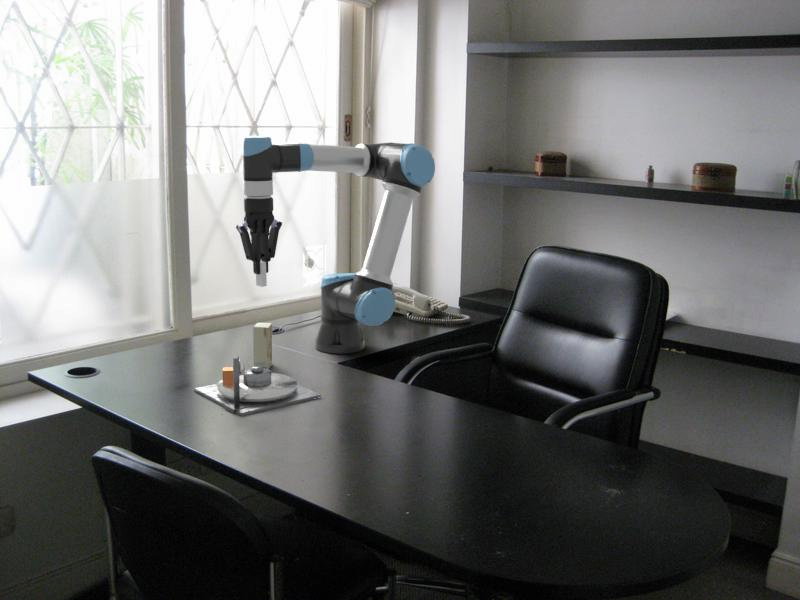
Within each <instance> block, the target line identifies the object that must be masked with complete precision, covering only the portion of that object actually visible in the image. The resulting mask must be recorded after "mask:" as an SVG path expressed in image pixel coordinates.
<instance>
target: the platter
mask: <svg viewBox="0 0 800 600" xmlns="http://www.w3.org/2000/svg"><path fill="white" fill-rule="evenodd" d="M239 381H240V401H243V402H266V401H274V400H279V399H283V398H286V397H289V396H291V395H293V394H294V393H295V392H296V391H297V384H298V381H296V379H294V378H293V377H291V376H289V375H286V374H282V373H275V372H271V384H270V385H269V386H266V387H259V388H254V387H247V386H245V385H244V384H243V375H240V376H239ZM216 384H217V392H218V394H219V395H221V396H222V397H224V398H227V399H230V400H234V378H233V366H224V367H223V368H222V379H220V380H219V381H218V382H217V383H216Z"/></svg>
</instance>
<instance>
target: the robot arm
mask: <svg viewBox="0 0 800 600" xmlns="http://www.w3.org/2000/svg"><path fill="white" fill-rule="evenodd" d="M241 142H242V143H241V158H242V159H241V161H242V177H243V179H242V180H243V181H242V183H243V195H244V199H243V208H244V209H243V211H244V212H245V213H244V218H243V222H242V223H240V224H236V226H235V229H236V230H237V231H238V233H239V235H240V239H241V243H242V247H243V251H244V252H243V253H244V255H245V258H246V259H245V260H248V261H252V267H253V274H255V280H256V281H255V282H256V286H259V287H261V288H263V287H264V288H265V287H267V286H268V285H267V283H268V282H267V274H268V273H269V262H271V261H272V260H271V259H274V258H275V256H276V252H277V244H278V240H279V239H278V238H279V233H280V230H281V227H282V226H283V222H281V221H278V220H277V219H275V216H274V213H273V211H274V198H273V197H272V196H273V195H274V186H273V185H274V184H273V182H274V181H273V174H274V173H277V174H278V173H294V172H295V173H300V172H305V171H306V172H307V171H313V172H331V173H332V172H333V173H351V174H354V175H355V176H357V177H365V178H370V179H371V178H372V179H375V180H379V181H381V185H382V187H383V189H384V194H383V197H382V200H381V203H380V207H379V210H378V212H377V217H376V220H375V224H374V227H373V230H372V234H371V237H370V241H369V244H368V247H367V251H366V253H365V258H364V261H363V263H362V268H361V269H360V270H359V271H357V272H346V273H345V272H343V273H332V274H326V275H325V274H324V276H323V277H322V278H321V285H320V289H321V291H320V293H321V294H320V295H321V298H320V299H321V301H320V302H321V303H320V305H321V307H320V308H321V311H320V313H321V314H320V315H321V316H320V318H321V320H320V326H319V328H318V331H317V335H316V337H315V341H314V346H315V349H316V350H317V351H320V352H323V353H327V354H338V355H340V354H343V355H344V354H353V353H358V352H361V351H362V350H364V349H365V338H364V336H363V332H362V329H361V325H366V326H370V327H371V326H372V327H375V326H376V327H377V326H380V325H382V324H384V323H385V322H387V321H388V320H389V319H390V318H391V317H392V316H393V313H394V311H395V307H396V299H395V295H394V294H393V292H392V290H393V287H394V283H393V281H392V280H391V276H392V271H393V269H394V265H395V262H396V258H397V254H398V251H399V248H400V246H401V241H402V238H403V235H404V231H405V227H406V224H407V220H408V218H409V214H410V211H411V207H412V203H413V201H414V199H415V198H417V197H419V196H421V191H422V188H423V187H424V186H427V185H428V184H429V183H430V182H431V181H433V179H434V175H435V171H436V164H435V159H434V158H433V154H432V152H431V151H430V150H429V149H428V148H427V147H425V146H423V145H420V144H415V143H398V142H379V143H359V144H357V145H355V146H346V145H345V146H344V145H331V144H329V145H328V144H317V143H316V144H315V143H314V144H312V143H307V142H300V141H298V142H286V141H285V142H284V141H283V142H282V141H273V140H272V138H271V137H270V136H268V135H267V136H266V135H265V136H264V135H248V136H244V137H243V138H242V141H241ZM360 324H361V325H360Z"/></svg>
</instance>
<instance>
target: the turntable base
mask: <svg viewBox="0 0 800 600" xmlns="http://www.w3.org/2000/svg"><path fill="white" fill-rule="evenodd" d="M217 384H218V383H214V384H209V385H204V386H199V387H194V392H195V393H198V394H199V395H201V396H203V397H205V398H207V399H209V400H210V401H212V402H214V403H216V404H218V405H219V406H221V407H223V408H225V405H228V404H233V403H234V400H230V399H227V398H224V397H222V396H221V395H219V394H218V392H217ZM318 397H322V395H321V393H319V392H316V391H314V390H311V389H309V388H307V387H304V386H303V385H300V384H298V383H297V391H296V392H295V393H294V394H293V395H291V396H289V397H286V398H283V399H279V400H274V401H266V402H243V401H240V402H241V403H243V404H245V405H247V406H248V407H247V408H242V409H238V410H236V413H235V414H236V415H238V416H240V417H242V416H243V417H244V416H248V415H251V414H252V415H253V414H256V413H259V412H265V411H269V410H270V411H271V410H274V409H279V408H282V407H283V408H284V407H286V406H291V405H296V404H299V403H298V402H300V403H304V402H307V401H306V400H309V401H312V400H311V399H313V400H315V399H314V398H317V399H319V398H318ZM303 401H304V402H303ZM295 403H296V404H295Z"/></svg>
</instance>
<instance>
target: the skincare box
mask: <svg viewBox="0 0 800 600" xmlns="http://www.w3.org/2000/svg"><path fill="white" fill-rule="evenodd" d="M252 331H253V340H252V341H253V344H252V345H253V366H262V367H263V368H265V369H269V370H270V368H271V366H272V365H273V345H272V344H273V323H272V322H257V323H255V324H254V326H253V329H252Z"/></svg>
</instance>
